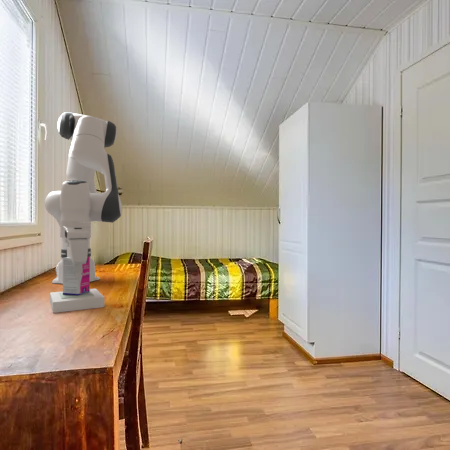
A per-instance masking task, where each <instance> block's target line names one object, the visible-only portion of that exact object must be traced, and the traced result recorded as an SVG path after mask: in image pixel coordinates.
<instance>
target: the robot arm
mask: <svg viewBox="0 0 450 450" xmlns="http://www.w3.org/2000/svg"><path fill="white" fill-rule="evenodd" d="M57 130H58V134H59V135H60V137H61V138H64V139H66V140H68V141H69V140H71V145H70V147H69V151H68V156H67V157H68V158H67V165H66V172H65V173H66V177H67V178H68V180H65V181H63V182H62V184H61V189H60V190H54V191H50V192H49V193H48V194H47V195H46V196H45V199H44V207H45V209H46V211H47V212H48V213H49V214H50V215H51V216H52V217H53V218H54V219H55V220H56V222H57V223H58V226H59V228H60V229H59V232H60V233H59V235H60V238H61V249H60V251H61V252H60V258H61V259H60V261H59V262H58V263H57V265H56V266H55V273H56V274H55V275H56V277H55V278H54V279H53V280H52V284H62V285H63V258H65V257H70V260H71V262H72V263H73V264H74V267H75V272H74V273H75V278H76V279H77V278H81V272H82V264H86V261H87V257H90V283H91V282H95V281H99V280H100V277H99V276H96V263H95V260H94V259H93V258H91V257H92V249H91V238H92V222H102V223H111V224H112V223H115V222H116V221H117V220H118V219H120V218H121V216H122V213H123V204H122V200H121V197H120V195H119V193H120V192H119V189H118V188H119V187H118V181H117V175H116V174H117V173H116V169H115V164H114V159H113V156H112V155H111V154H109V153H108V152H107V151H106V149H105V148H109V147H112V146H114V143H115V142H116V140H117V137H118V131H117V126H116V124H115V123H114V122H112V121H109V120H105V119H103V118H99V117H96V116H93V115H86V114H79V113H74V112H70V111H64V112H63V113H61V115H60V116H59V117H58V120H57ZM96 172H98V173H100V174H101V175H103V176H104V184H105V191H104V192H98V191H97V188H96V185H95V183H96V182H95V173H96Z"/></svg>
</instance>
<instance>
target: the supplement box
mask: <svg viewBox="0 0 450 450" xmlns="http://www.w3.org/2000/svg"><path fill="white" fill-rule="evenodd" d="M74 272H75V267H74V264H73V263H72V262H71V260H70V257H65V258H63V284H62V291H63V295H76V296H78V295H81V294H84V293H88V292H90V289H91V288H90V287H91V286H90V283H91V282H90V257H87V261H86V264H82V272H81V278H77V279H76V278H75V273H74Z"/></svg>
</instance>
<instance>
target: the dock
mask: <svg viewBox="0 0 450 450" xmlns="http://www.w3.org/2000/svg"><path fill="white" fill-rule="evenodd" d="M49 303H50V308H51V310H52V313H53V314H57V313H65V312H72V311H81V310H89V309H90V310H91V309H100V308H105V296H104V295H103V294H102V293H101V292H100V291H99V290H98V289H97V288H90V292H88V293H84V294H81V295H78V296H76V295H63V290H62V291H53V292H49Z"/></svg>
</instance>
